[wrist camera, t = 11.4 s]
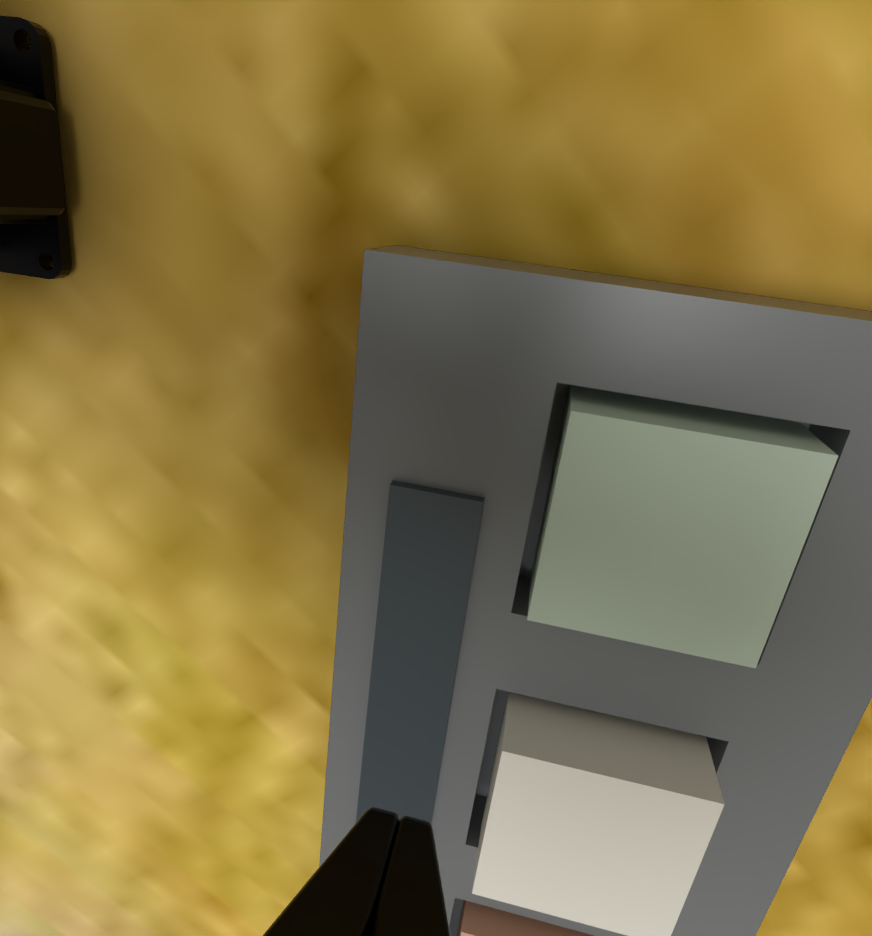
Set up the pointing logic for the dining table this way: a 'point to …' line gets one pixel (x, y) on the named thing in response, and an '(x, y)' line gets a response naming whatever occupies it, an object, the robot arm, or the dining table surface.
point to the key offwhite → (595, 817)
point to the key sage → (674, 523)
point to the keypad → (515, 541)
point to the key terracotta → (505, 924)
